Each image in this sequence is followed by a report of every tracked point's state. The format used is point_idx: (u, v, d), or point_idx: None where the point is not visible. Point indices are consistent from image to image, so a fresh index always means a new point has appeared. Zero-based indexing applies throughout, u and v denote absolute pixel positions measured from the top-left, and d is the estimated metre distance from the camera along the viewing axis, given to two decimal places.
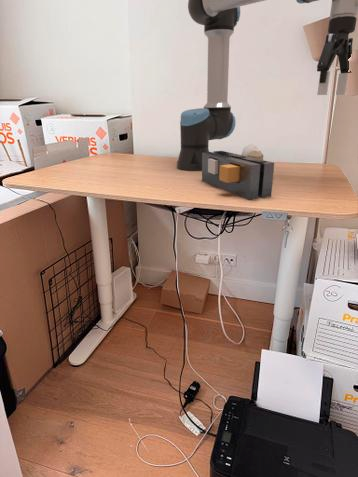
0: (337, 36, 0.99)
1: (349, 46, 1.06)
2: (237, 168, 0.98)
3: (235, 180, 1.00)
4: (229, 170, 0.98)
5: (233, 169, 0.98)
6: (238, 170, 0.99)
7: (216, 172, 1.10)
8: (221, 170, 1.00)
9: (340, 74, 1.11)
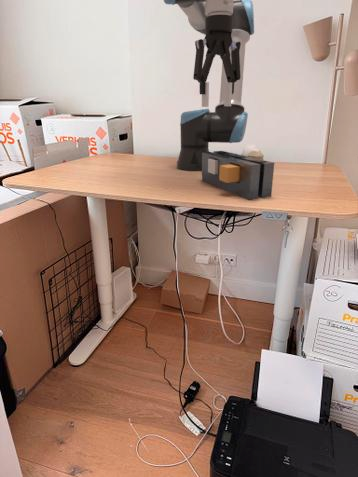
0: (207, 38, 0.91)
1: (235, 50, 0.96)
2: (237, 168, 0.98)
3: (235, 180, 1.00)
4: (229, 170, 0.98)
5: (233, 169, 0.98)
6: (238, 170, 0.99)
7: (216, 172, 1.10)
8: (221, 170, 1.00)
9: (225, 84, 1.00)
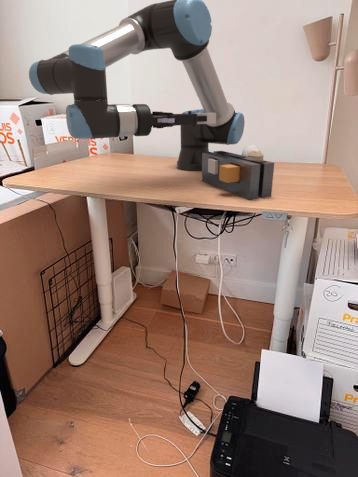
0: None
1: None
2: (237, 168, 0.98)
3: (235, 180, 1.00)
4: (229, 170, 0.98)
5: (233, 169, 0.98)
6: (238, 170, 0.99)
7: (216, 172, 1.10)
8: (221, 170, 1.00)
9: None
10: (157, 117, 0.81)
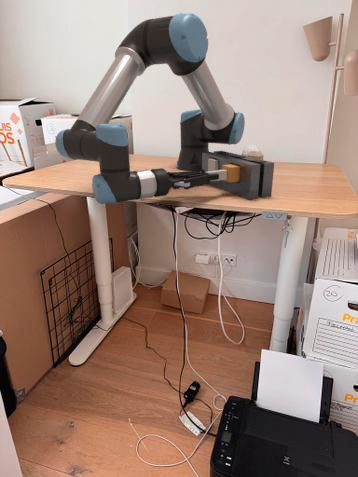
0: None
1: None
2: (239, 168, 0.99)
3: (238, 180, 1.00)
4: (232, 170, 0.98)
5: (236, 168, 0.98)
6: None
7: None
8: None
9: None
10: (174, 181, 0.89)
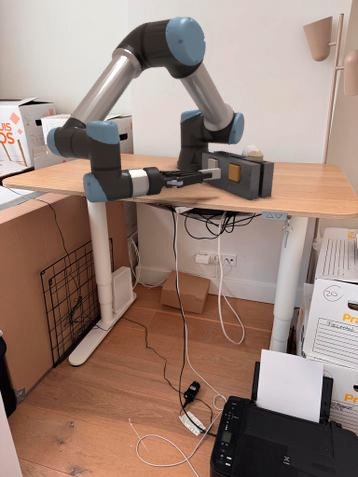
0: None
1: None
2: None
3: None
4: (239, 169, 0.99)
5: None
6: None
7: None
8: (230, 169, 1.02)
9: None
10: (167, 180, 0.88)
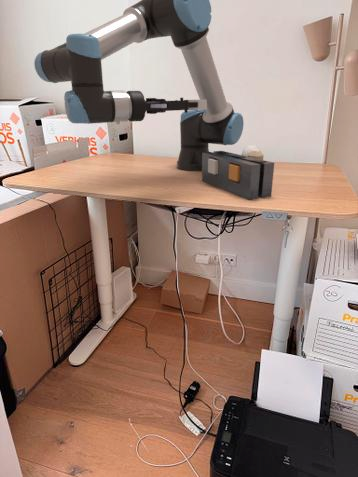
0: None
1: None
2: None
3: None
4: (239, 169, 0.99)
5: None
6: None
7: (216, 172, 1.10)
8: (230, 169, 1.02)
9: None
10: (150, 103, 0.86)
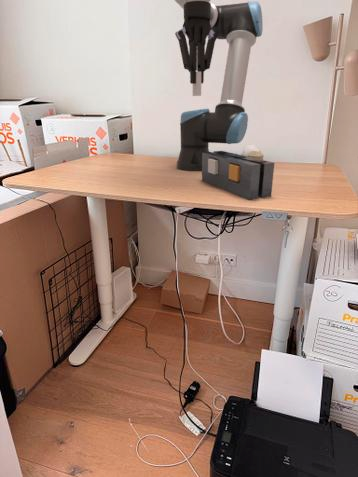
0: (185, 26, 0.92)
1: (211, 39, 0.97)
2: None
3: None
4: (239, 169, 0.99)
5: None
6: None
7: (216, 172, 1.10)
8: (230, 169, 1.02)
9: None
10: None
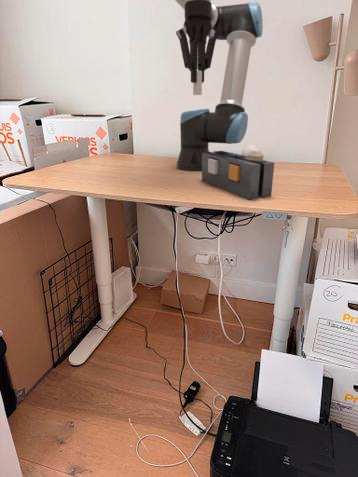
0: (186, 25, 0.93)
1: (212, 38, 0.97)
2: None
3: None
4: (239, 169, 0.99)
5: None
6: None
7: (216, 172, 1.10)
8: (230, 169, 1.02)
9: None
10: None
